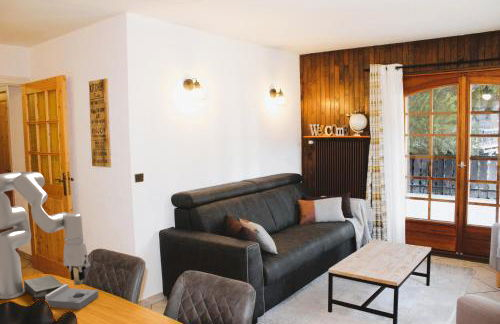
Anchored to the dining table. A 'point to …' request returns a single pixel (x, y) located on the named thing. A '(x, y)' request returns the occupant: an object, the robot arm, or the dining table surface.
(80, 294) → the plate
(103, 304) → the dining table surface
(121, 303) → the dining table surface
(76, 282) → the brass pin
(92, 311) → the dining table surface
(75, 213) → the robot arm
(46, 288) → the stone block
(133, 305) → the dining table surface
